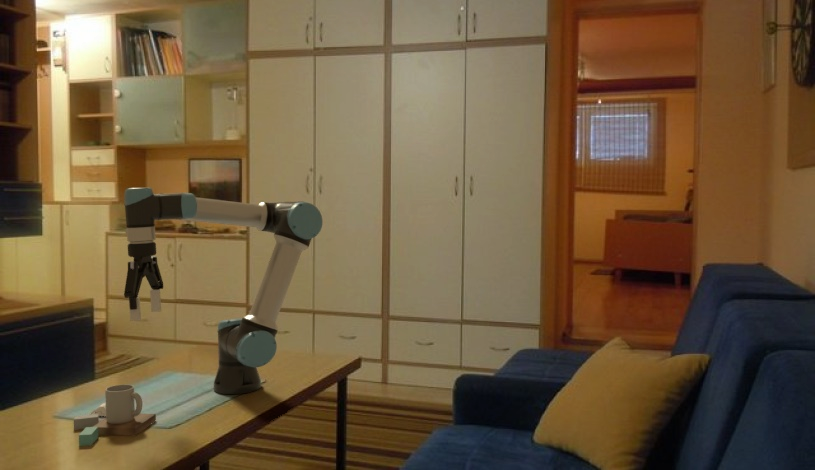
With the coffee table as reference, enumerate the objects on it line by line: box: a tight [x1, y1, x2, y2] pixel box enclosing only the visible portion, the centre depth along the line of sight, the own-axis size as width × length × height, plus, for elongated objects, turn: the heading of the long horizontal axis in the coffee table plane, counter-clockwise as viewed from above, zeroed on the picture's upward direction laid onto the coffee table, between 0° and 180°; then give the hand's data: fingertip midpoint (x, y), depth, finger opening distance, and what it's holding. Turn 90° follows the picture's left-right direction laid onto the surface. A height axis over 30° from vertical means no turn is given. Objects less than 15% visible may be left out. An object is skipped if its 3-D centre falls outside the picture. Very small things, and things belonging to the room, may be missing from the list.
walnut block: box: [93, 413, 157, 437], centre depth 188 cm, size 12×12×2 cm
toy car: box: [88, 402, 106, 416], centre depth 200 cm, size 6×12×4 cm, turn 93°
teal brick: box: [78, 427, 99, 447], centre depth 177 cm, size 6×3×3 cm, turn 9°
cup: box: [105, 383, 143, 424], centre depth 188 cm, size 7×10×9 cm
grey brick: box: [73, 414, 100, 431], centre depth 189 cm, size 6×3×3 cm, turn 111°
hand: (146, 316), depth 197 cm, fingers open, 13 cm apart
